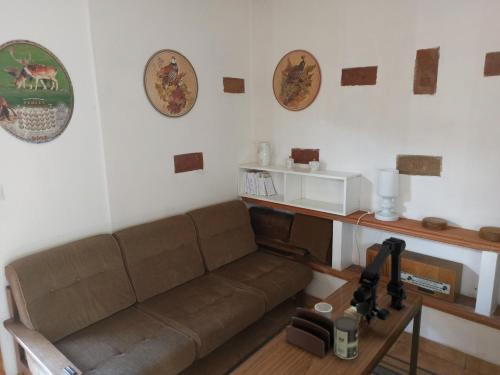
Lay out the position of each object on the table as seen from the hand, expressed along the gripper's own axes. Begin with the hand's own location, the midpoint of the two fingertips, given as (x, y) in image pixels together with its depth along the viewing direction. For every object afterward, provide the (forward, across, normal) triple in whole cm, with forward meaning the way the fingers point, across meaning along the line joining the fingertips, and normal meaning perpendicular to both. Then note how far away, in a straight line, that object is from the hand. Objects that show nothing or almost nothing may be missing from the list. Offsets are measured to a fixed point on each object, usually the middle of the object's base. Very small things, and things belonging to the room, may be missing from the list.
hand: (369, 324), depth 171 cm
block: (+3, -10, 0) cm, 10 cm away
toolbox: (+3, -10, +9) cm, 13 cm away
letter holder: (+3, -12, -29) cm, 32 cm away
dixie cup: (+3, -16, -14) cm, 22 cm away
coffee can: (+3, +2, -22) cm, 22 cm away
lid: (0, -9, +9) cm, 13 cm away
